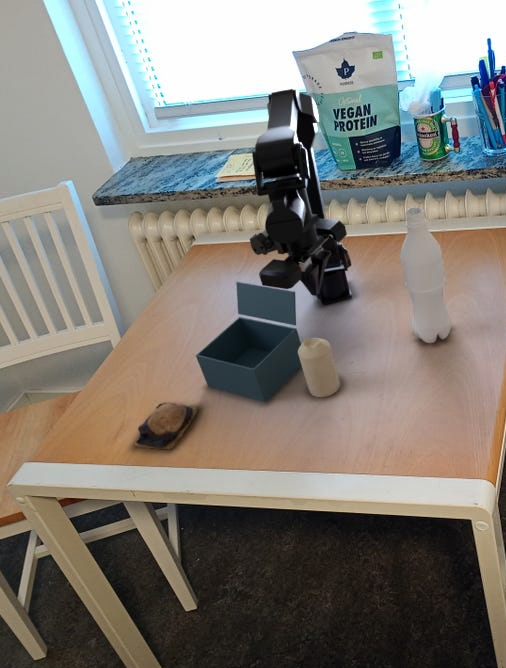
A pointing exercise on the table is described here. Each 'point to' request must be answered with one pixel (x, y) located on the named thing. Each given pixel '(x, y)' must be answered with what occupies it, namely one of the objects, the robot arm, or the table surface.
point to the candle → (319, 367)
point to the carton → (251, 358)
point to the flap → (266, 303)
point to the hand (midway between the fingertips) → (315, 294)
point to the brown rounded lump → (165, 426)
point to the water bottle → (424, 278)
